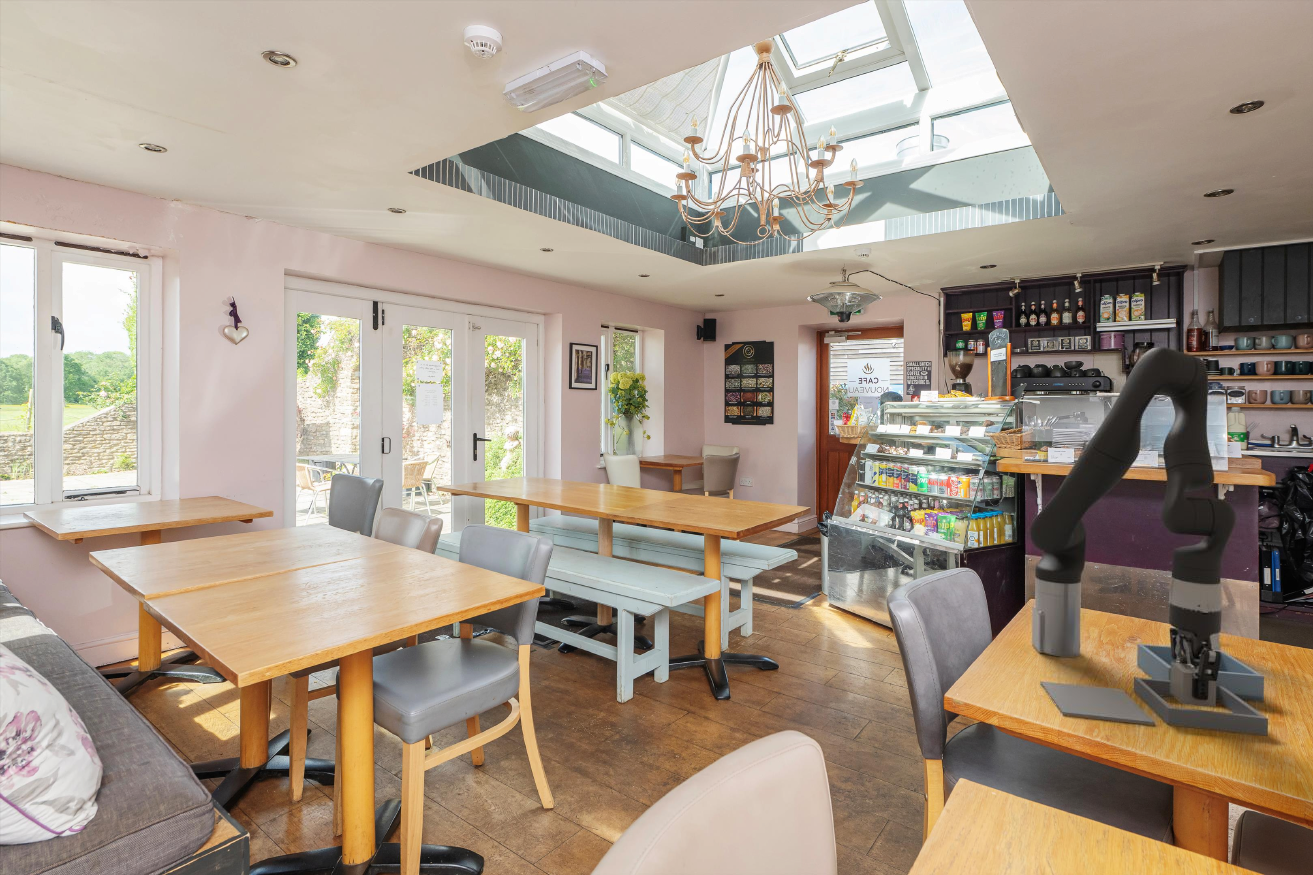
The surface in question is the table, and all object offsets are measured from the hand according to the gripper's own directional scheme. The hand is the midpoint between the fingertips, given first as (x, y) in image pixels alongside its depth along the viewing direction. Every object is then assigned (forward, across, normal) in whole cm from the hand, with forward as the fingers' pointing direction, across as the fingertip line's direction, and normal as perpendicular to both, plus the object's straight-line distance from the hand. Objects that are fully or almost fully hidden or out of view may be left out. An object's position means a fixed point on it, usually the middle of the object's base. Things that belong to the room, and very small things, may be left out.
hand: (1192, 692), depth 120 cm
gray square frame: (+4, 0, +1) cm, 4 cm away
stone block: (+1, 0, 0) cm, 1 cm away
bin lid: (+4, +1, -16) cm, 17 cm away
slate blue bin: (+4, -16, +7) cm, 18 cm away
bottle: (+4, -39, +19) cm, 44 cm away
